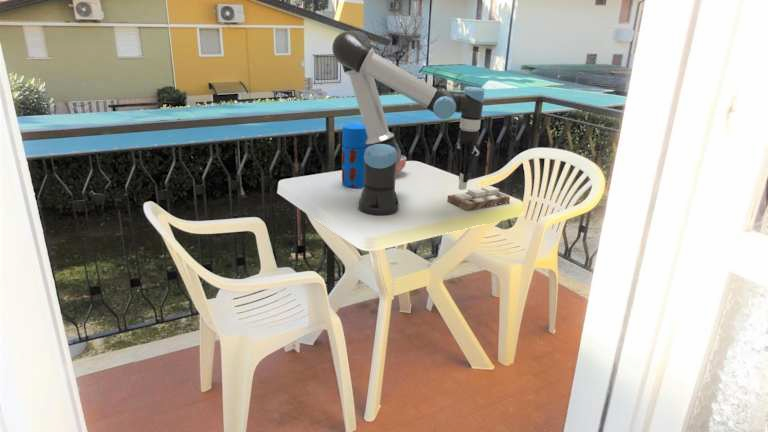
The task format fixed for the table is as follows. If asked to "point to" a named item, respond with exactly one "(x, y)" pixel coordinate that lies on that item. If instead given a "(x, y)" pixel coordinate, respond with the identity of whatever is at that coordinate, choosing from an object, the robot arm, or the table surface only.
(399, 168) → the cell model
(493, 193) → the button right
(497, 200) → the button board
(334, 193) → the table surface
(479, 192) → the button middle
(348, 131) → the thermos
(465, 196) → the button left
